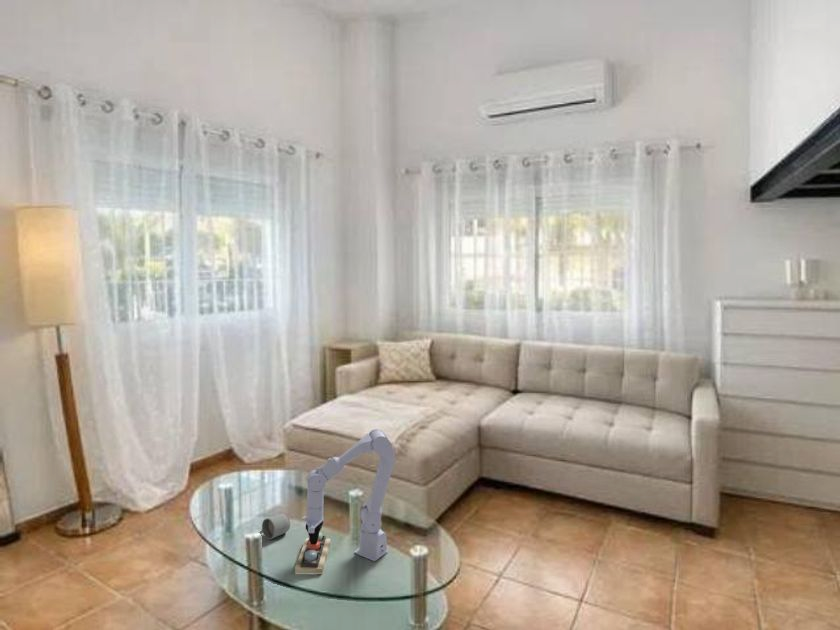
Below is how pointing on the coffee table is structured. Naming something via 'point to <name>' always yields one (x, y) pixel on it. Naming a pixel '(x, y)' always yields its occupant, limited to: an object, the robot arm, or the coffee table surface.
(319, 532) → the sage green button
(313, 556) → the slate blue button
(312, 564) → the button panel
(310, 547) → the red button
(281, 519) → the ceramic mug
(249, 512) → the coffee table surface
